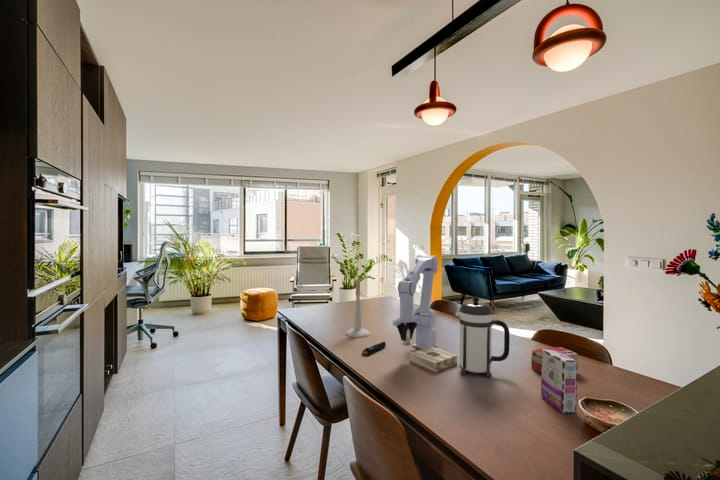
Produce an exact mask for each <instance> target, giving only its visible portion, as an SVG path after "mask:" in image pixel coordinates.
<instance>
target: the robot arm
mask: <svg viewBox="0 0 720 480" xmlns="http://www.w3.org/2000/svg"><path fill="white" fill-rule="evenodd" d="M414 261H415V262H414V263H415V265H414V267H413V269H412V270H410V271H408V273H407V274H406V276H405V277H404V278H403V279H402V280H400V281H399V282H398V284H397V292H398V297H399V318H396V319H394V320H392V326H395V327H396V328H397V330H398V334H399V336H400V341H402V342H403V341H406V332H407V328H410V340H412V339H413V335H414V332H415V343H413V344H411V345H412V347H415V348H418V349H419V350H421V349H425V348H428V347H431V346H432V347H435V348H436V347H437V346H438V344H437V343H436V339H437V337H436V336H437V335H436V334H437V332H436V330H435V328H434V327H435V324H436V313H435V312H434V310H433V309H432V308H431V303H432V294H433V293H432V292H433V282H434V275H436V274H438V267H439V259H438V256H437V255H424V254H423V255H422V254H421V255H420V254H418V255H416V257H415V260H414ZM421 274H422V275H423V276H422V277H423V278H422V283H421V284H422V286H421V294H420V302H419V307H417V308H416V309H415V310H414V294H415V293H416V289H417V285H418V283H419V282H420V279H421Z"/></svg>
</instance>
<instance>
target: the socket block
mask: <svg viewBox="0 0 720 480" xmlns="http://www.w3.org/2000/svg"><path fill="white" fill-rule="evenodd" d="M409 362H411V363H413V364H416V365H418V366H421V367H423V368H426V369H427V370H431V371H433V372H435V373H436V372H439V371H441V370H444V369H446V368H448V367H451V366H454V365H457V364H458V355H457V354H454V353H452V352H448V351H447V350H443V349H441V348H438V347H436V346H435V347H432V346H431V347H428V348H425V349H417V350H416V351H412V352H409Z"/></svg>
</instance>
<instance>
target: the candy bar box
mask: <svg viewBox="0 0 720 480" xmlns="http://www.w3.org/2000/svg"><path fill="white" fill-rule="evenodd" d="M542 349H543V350H542V374H541V387H540V397H541V396H542V397H543V398H544V399H543V398H542V397H541V398H542V399H543V400H545V399H546V400H547V401H548V402H549V404H550V403H551V404H552V405H553V406H552V405H551V404H550V405H551V406H552V407H553V408H555V407H556V408H557V409H558V411H559V412H560V411H561V412H562V413H561V412H560V413H561V414H573V413H572V412H576V413H577V403H578V402H577V401H578V400H577V397H578V396H577V395H578V394H577V393H578V363H579V361H578V359H577V360H575V359H573V358H571V357H569V356H567V355H565V354H563V353H561V352H559V351H557V350H555V349H546V348H542ZM546 400H545V401H546ZM547 401H546V402H547ZM548 402H547V403H548ZM556 408H555V409H556ZM557 409H556V410H557ZM568 412H569V413H568Z"/></svg>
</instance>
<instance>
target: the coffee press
mask: <svg viewBox="0 0 720 480" xmlns="http://www.w3.org/2000/svg"><path fill="white" fill-rule="evenodd" d="M472 300H473V301H465V302H463V303H462V304H461V305H460V307H459V308H458V310H457V312H456V313H455V316H457V317H458V316H459V321H458V323H459V366H460V367H461V371H460V374H461V375H462V376H467V373H469V372H471V373H476V374H484V375H485V376H486V378H488V379H489V378H492V377H493V375H492V372H491V368H492V362H502V361H505V360H506V359H507V358H508V356H509V353H510V329H509V327H508V324H507V323H505V322H504V321H503V320H499V319H493V314H494V310H492V306H490V305H489V304H488V303H485V302H482V301H480V302H479V300H480V298H479V297H478V296H474V297H472ZM493 325H497V326H500V327H502V329H503V330H504V331H503V332H504V334H503V335H504V338H503V339H504V341H503V342H504V344H503V345H504V346H503V347H504V348H503V353H502V354H501V355H499V356H497V355H495V356H494V355H492V339H493V338H492V333H493V332H492V329H493V328H492V327H493Z"/></svg>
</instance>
